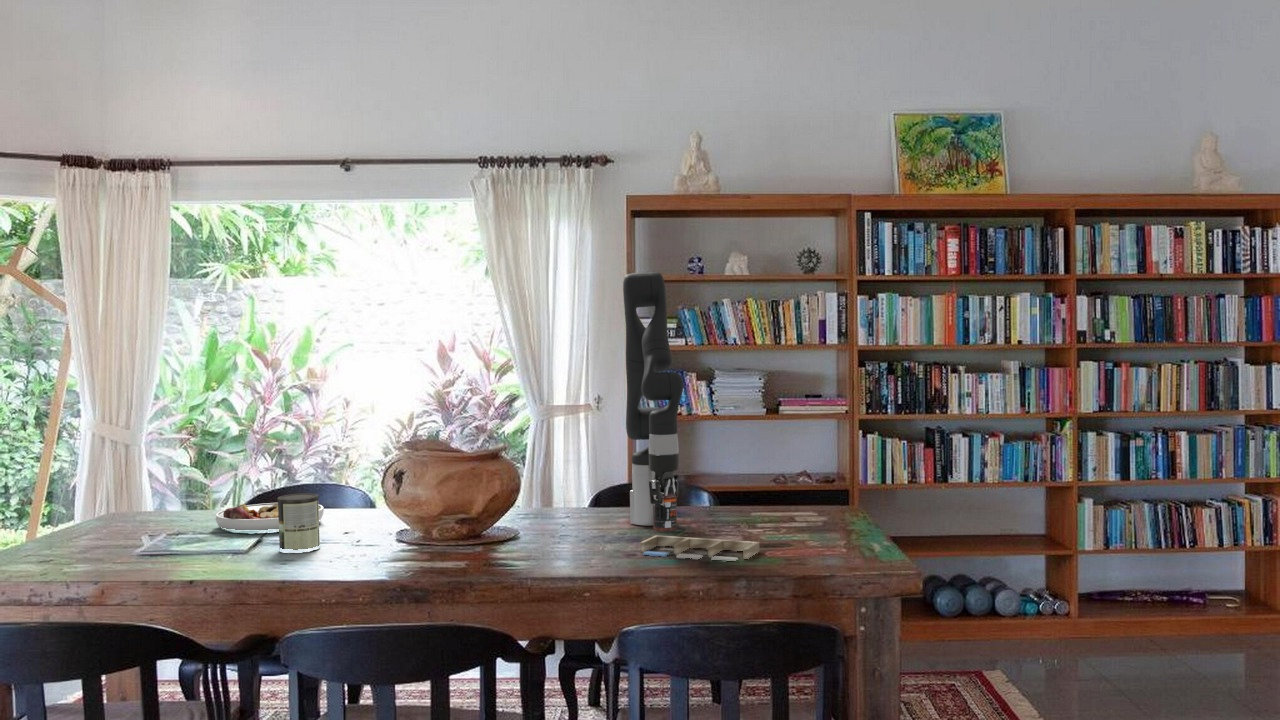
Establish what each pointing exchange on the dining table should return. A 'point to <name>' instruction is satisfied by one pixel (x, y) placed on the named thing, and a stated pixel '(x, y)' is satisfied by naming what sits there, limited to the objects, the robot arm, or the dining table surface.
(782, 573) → the dining table surface
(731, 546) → the divider rack
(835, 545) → the dining table surface
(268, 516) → the bowl
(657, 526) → the supplement bottle
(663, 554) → the bezel tiles
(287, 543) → the coffee can
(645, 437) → the robot arm
